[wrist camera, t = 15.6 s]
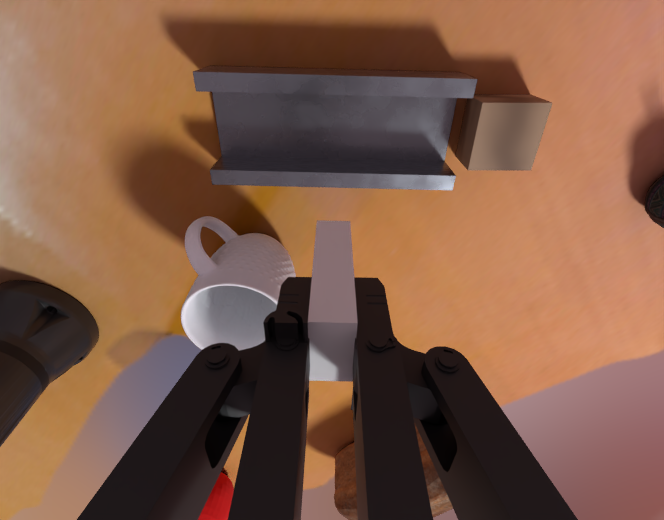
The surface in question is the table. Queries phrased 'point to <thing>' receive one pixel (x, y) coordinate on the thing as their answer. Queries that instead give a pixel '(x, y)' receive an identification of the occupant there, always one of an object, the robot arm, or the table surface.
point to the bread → (347, 482)
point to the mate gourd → (656, 202)
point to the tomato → (218, 500)
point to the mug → (232, 285)
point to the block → (501, 131)
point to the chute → (333, 126)
